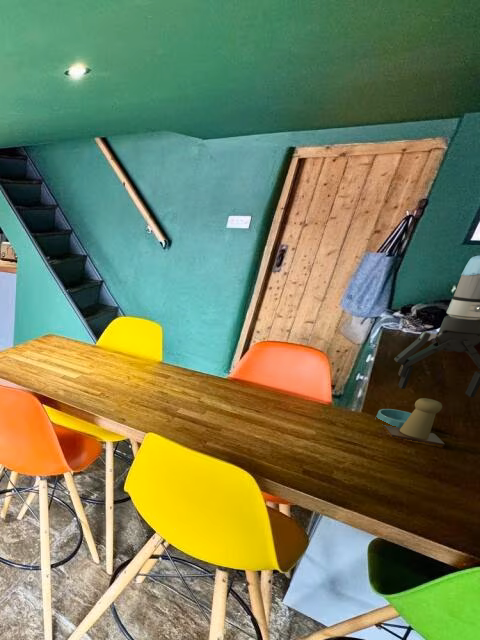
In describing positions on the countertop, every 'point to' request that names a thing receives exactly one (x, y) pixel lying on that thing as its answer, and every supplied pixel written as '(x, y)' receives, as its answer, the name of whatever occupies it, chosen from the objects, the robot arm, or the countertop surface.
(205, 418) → the countertop surface
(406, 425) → the cork
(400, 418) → the bowl
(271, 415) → the countertop surface
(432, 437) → the board
